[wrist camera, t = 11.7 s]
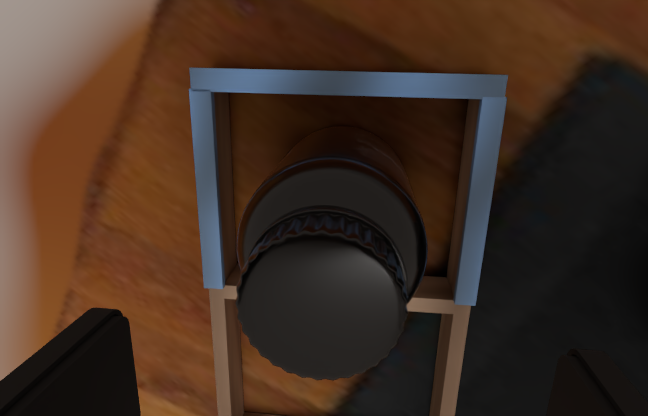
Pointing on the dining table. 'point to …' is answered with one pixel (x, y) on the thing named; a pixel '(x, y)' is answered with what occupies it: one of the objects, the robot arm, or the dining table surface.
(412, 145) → the dining table surface
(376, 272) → the supplement bottle
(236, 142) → the dining table surface
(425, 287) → the caddy
